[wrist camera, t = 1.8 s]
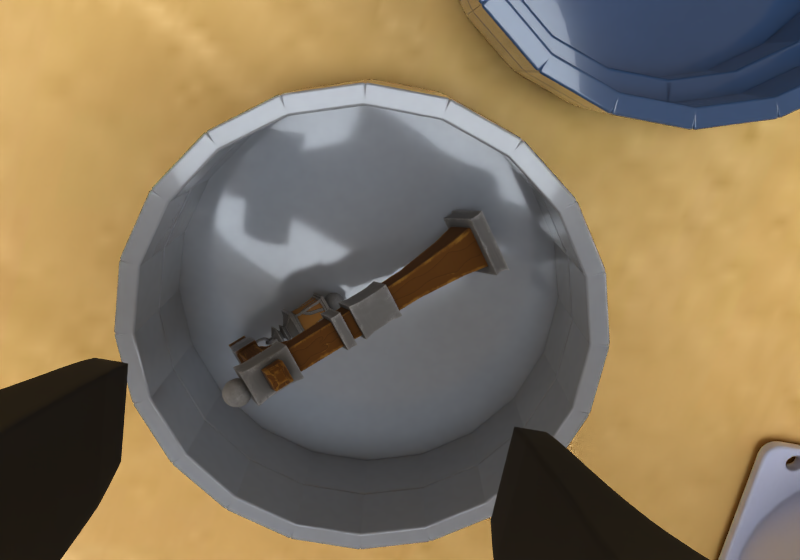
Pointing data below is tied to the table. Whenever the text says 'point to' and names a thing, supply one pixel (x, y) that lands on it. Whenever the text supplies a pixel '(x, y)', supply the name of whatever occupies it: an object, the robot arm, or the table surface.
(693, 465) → the table surface
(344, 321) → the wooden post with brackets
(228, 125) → the grey cake pan
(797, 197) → the table surface
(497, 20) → the bowl
